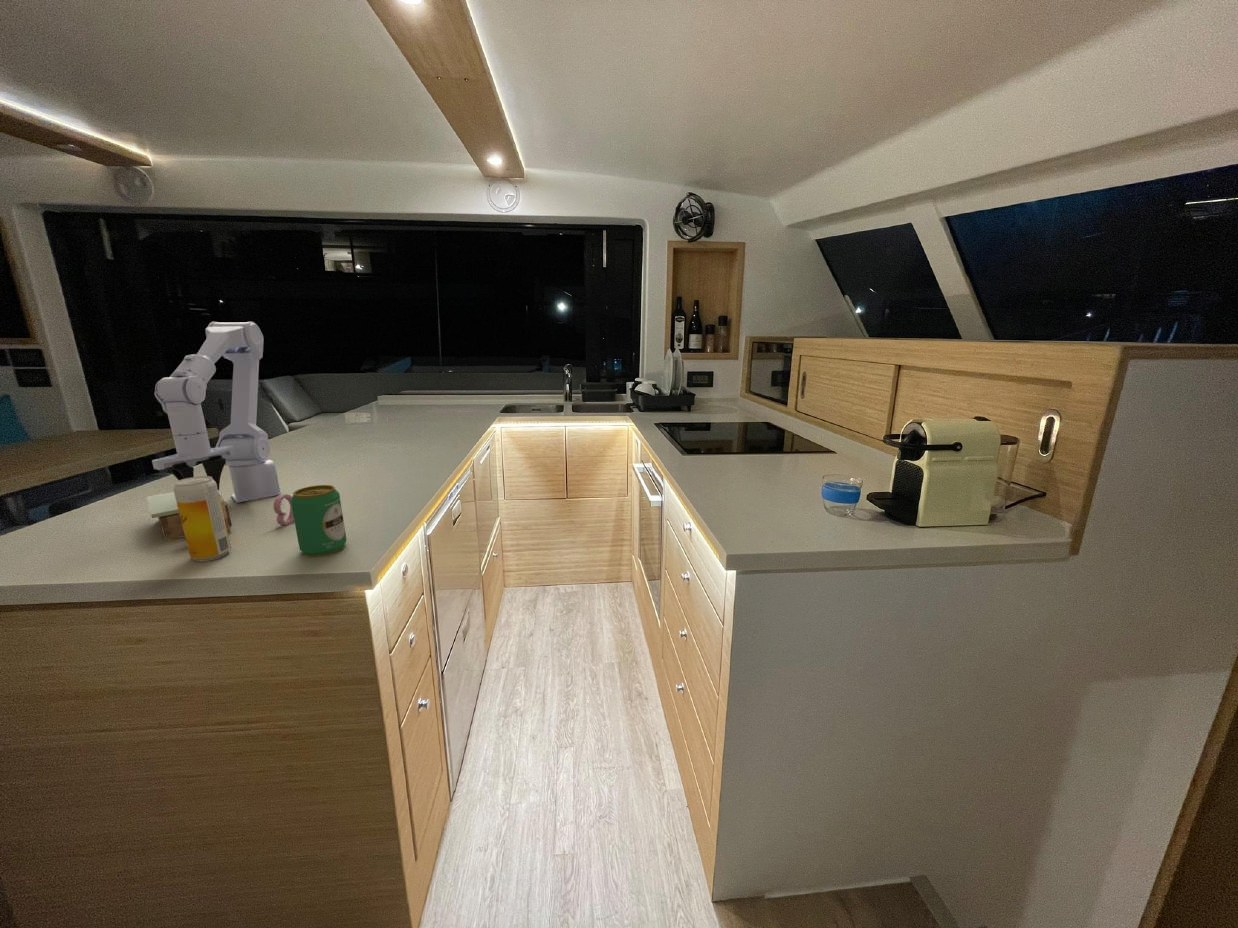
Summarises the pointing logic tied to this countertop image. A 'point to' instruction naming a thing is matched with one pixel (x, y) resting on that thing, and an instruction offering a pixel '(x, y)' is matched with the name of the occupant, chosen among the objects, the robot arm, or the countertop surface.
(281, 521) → the decorative key
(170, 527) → the wooden box
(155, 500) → the lid
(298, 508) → the beverage can
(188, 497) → the beer can
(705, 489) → the countertop surface
